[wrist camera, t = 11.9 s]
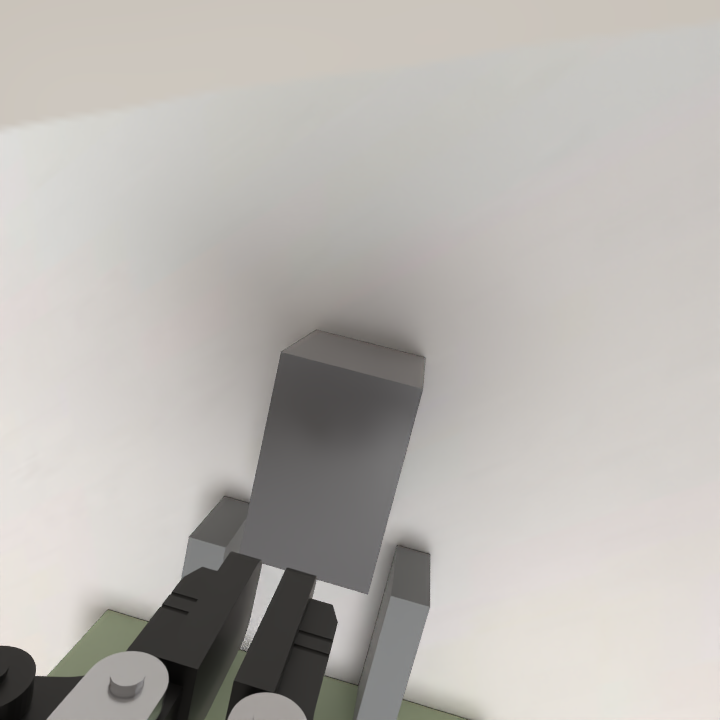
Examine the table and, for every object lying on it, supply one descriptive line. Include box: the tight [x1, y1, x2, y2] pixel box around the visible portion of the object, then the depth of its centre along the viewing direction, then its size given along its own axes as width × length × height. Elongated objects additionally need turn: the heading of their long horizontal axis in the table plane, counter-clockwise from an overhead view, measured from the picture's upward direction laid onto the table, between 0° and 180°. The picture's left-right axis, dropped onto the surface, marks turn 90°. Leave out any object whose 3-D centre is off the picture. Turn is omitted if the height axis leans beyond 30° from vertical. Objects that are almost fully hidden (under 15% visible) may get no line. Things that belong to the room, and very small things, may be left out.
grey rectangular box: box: [239, 330, 425, 594], centre depth 23 cm, size 8×5×6 cm, turn 167°
